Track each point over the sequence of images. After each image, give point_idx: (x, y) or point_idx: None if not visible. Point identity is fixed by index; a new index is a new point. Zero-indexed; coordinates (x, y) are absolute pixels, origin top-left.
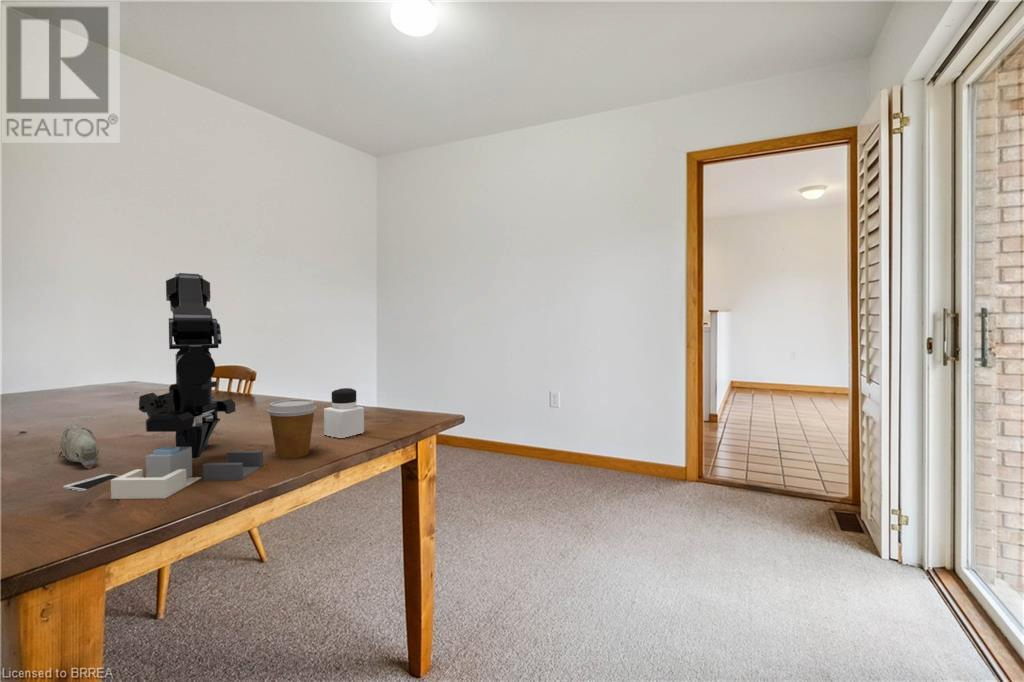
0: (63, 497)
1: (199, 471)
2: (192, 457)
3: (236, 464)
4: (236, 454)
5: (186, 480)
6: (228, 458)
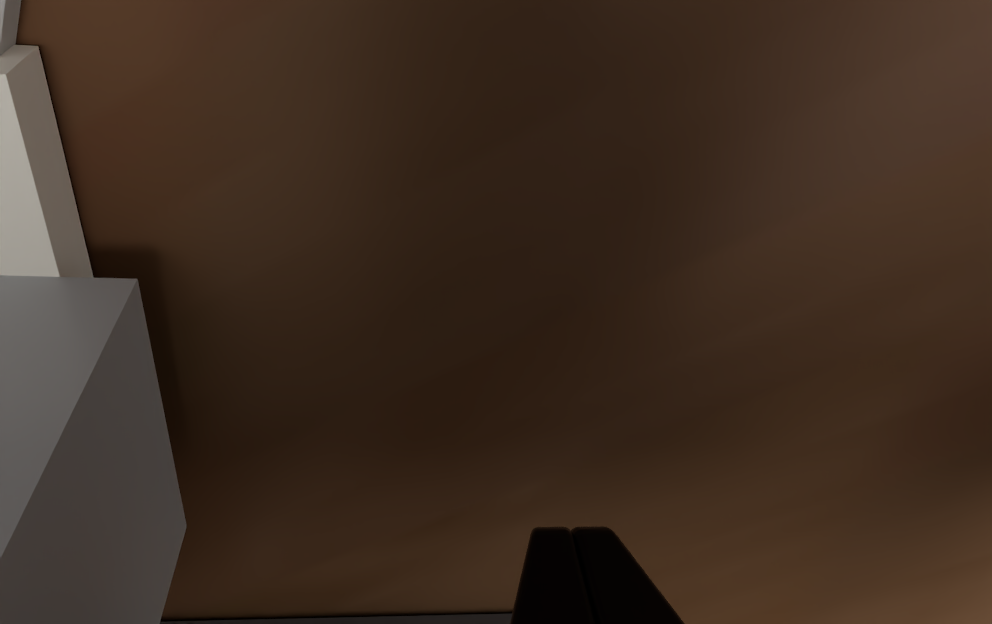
0: None
1: (580, 385)
2: (530, 542)
3: None
4: None
5: None
6: None
